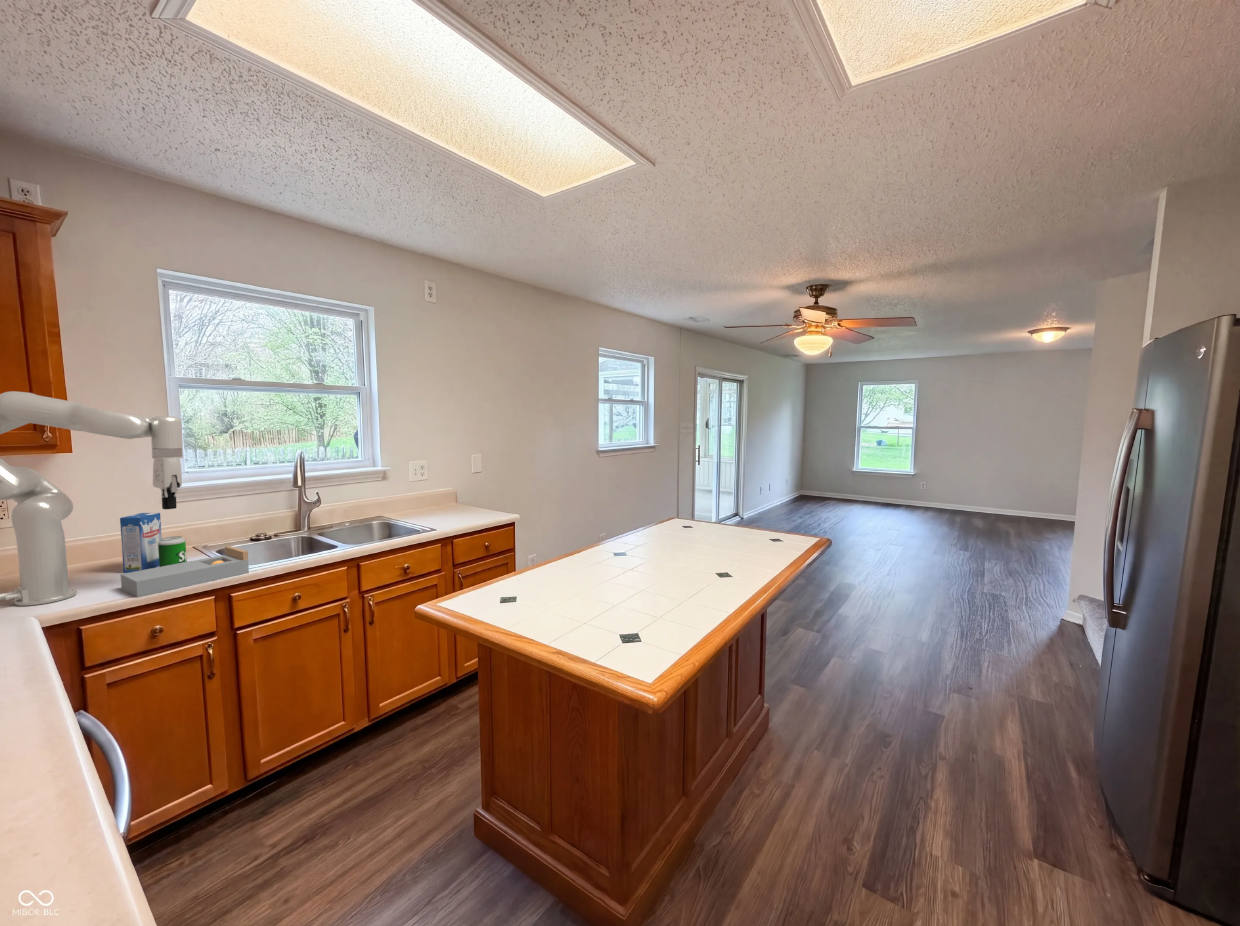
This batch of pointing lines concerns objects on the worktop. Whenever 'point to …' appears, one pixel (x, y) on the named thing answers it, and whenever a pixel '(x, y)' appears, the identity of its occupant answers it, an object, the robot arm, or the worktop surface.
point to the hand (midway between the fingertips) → (169, 508)
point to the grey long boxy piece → (186, 573)
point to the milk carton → (140, 541)
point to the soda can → (172, 550)
